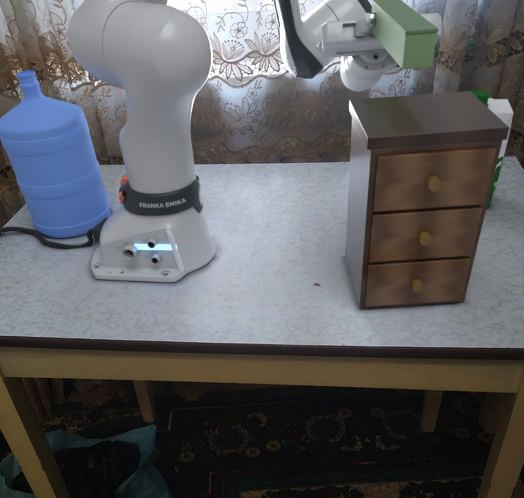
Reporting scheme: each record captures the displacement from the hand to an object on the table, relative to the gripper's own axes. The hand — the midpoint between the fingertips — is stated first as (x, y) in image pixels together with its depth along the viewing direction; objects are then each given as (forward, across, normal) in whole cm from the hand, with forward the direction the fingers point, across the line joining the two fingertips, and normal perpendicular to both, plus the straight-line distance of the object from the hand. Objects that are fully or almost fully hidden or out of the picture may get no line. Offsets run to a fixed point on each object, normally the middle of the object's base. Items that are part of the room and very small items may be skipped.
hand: (389, 16), depth 83 cm
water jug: (-19, -61, +27) cm, 69 cm away
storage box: (+5, 0, +6) cm, 8 cm away
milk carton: (-17, +19, +28) cm, 38 cm away
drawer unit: (+5, 0, +41) cm, 41 cm away
